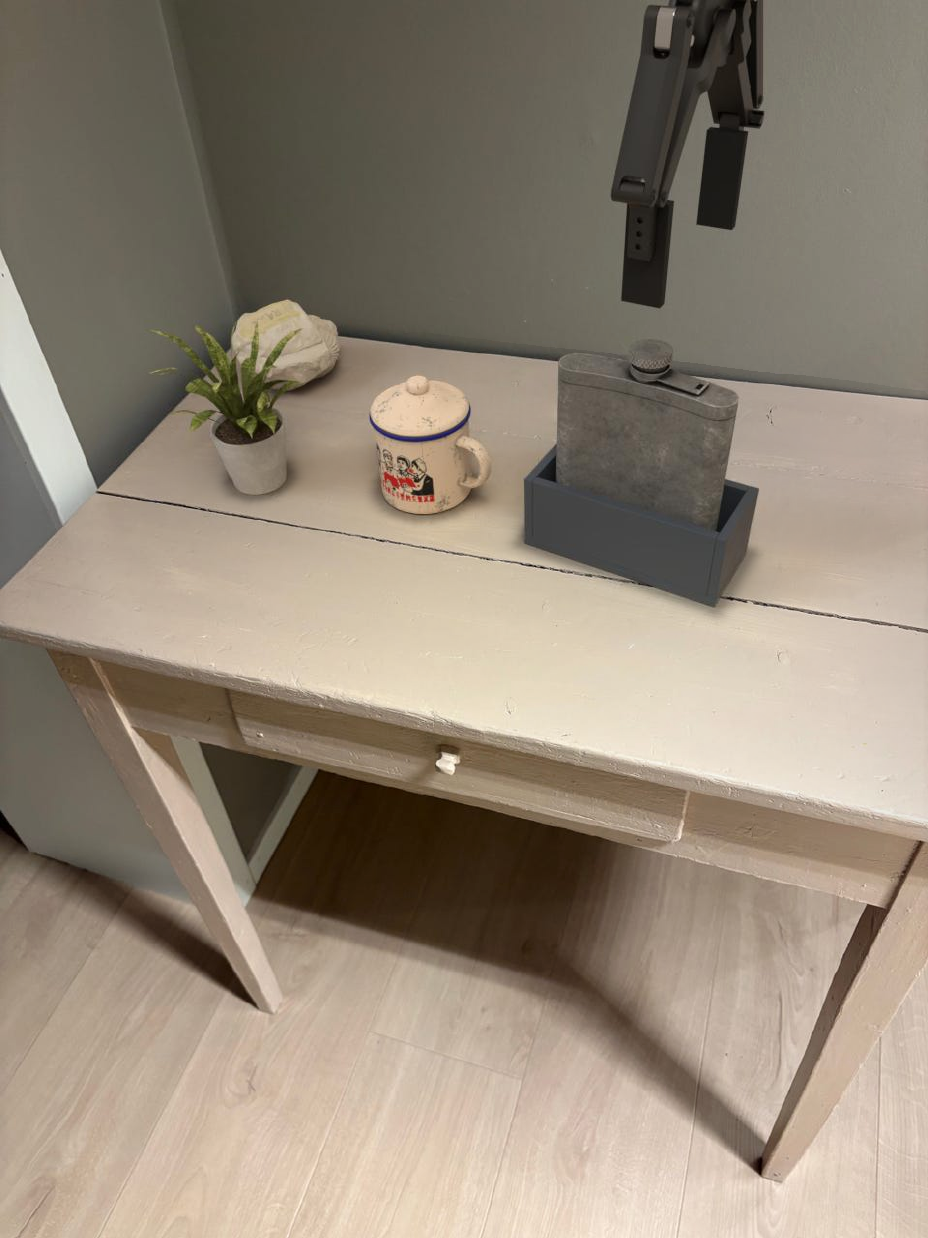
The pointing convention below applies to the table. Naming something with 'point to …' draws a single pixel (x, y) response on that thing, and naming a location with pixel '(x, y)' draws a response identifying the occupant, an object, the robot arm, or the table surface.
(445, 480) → the teacup with lid
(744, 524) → the holder
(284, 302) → the fossil replica
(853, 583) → the table surface
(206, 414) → the house plant
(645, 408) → the flask
